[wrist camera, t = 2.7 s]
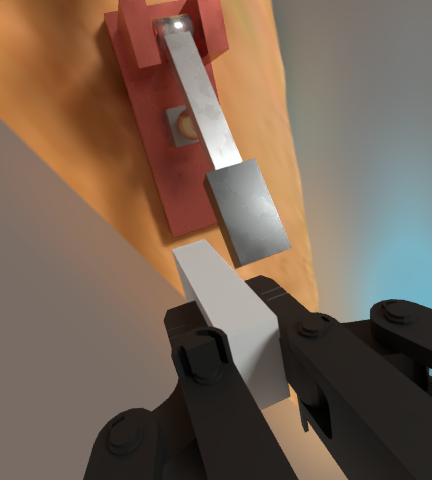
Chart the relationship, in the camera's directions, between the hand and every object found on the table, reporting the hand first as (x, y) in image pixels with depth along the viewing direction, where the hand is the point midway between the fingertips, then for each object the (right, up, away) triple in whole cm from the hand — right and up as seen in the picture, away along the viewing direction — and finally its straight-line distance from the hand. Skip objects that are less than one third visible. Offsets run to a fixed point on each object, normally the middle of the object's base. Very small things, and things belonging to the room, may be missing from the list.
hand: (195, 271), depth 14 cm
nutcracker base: (-4, +15, +25) cm, 29 cm away
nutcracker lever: (0, +10, +14) cm, 18 cm away
